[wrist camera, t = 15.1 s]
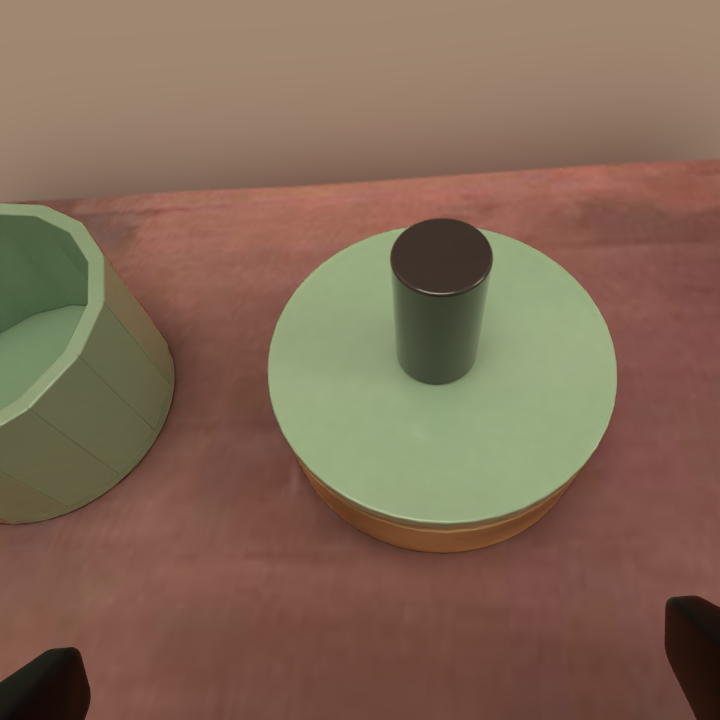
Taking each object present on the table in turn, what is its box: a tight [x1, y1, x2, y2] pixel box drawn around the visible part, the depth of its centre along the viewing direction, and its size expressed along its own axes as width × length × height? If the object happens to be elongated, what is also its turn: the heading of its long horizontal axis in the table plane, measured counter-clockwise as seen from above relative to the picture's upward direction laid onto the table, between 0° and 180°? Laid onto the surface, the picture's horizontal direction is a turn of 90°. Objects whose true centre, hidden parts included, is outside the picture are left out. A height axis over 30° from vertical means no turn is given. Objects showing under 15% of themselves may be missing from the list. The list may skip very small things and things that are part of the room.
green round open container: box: [0, 203, 175, 524], centre depth 22 cm, size 11×11×7 cm
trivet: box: [294, 453, 588, 553], centre depth 22 cm, size 12×12×3 cm
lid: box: [267, 218, 617, 528], centre depth 18 cm, size 12×12×6 cm
